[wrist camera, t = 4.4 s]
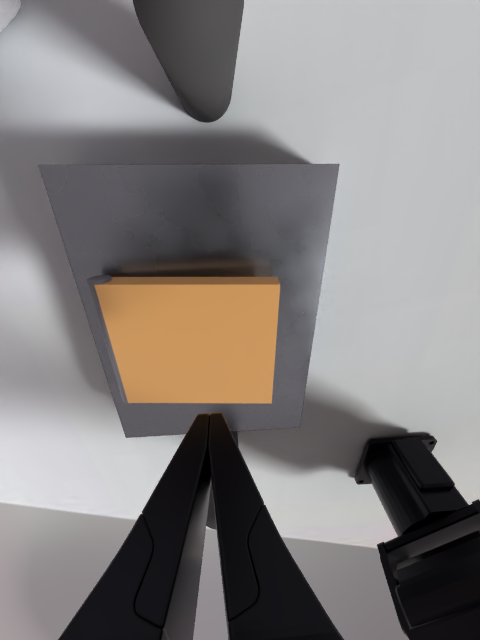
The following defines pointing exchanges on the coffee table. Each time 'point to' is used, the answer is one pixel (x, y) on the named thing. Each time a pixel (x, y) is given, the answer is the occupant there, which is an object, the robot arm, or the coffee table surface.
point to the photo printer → (8, 11)
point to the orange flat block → (189, 337)
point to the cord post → (195, 49)
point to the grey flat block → (203, 257)
